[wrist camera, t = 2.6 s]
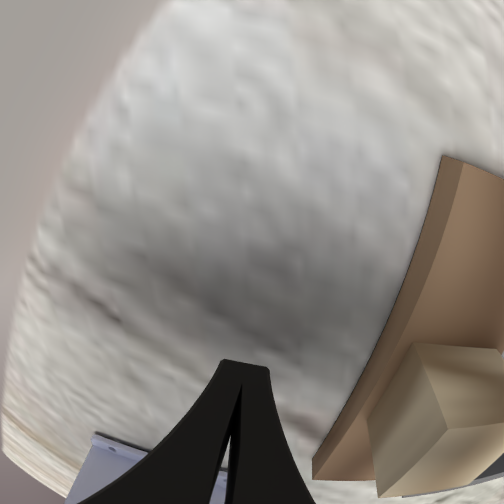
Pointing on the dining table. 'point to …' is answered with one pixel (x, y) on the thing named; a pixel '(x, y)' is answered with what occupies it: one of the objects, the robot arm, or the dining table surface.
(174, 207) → the dining table surface
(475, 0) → the dining table surface
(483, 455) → the birch block
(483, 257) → the walnut board
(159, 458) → the robot arm
